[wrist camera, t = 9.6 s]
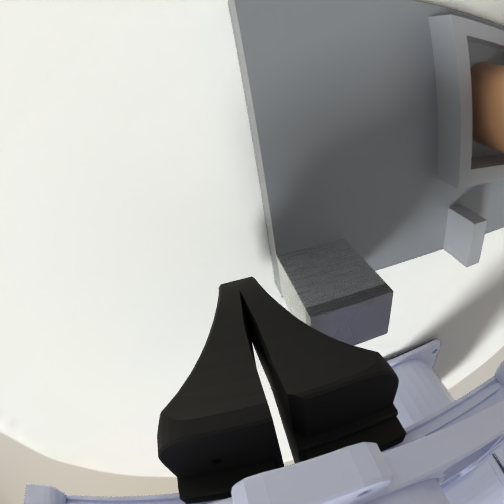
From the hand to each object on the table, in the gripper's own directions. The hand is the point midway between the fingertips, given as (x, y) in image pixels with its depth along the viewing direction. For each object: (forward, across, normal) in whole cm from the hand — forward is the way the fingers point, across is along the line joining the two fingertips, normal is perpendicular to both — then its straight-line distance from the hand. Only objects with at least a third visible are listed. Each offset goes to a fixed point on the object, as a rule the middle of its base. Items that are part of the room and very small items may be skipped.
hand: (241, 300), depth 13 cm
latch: (+1, -3, 0) cm, 3 cm away
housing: (+2, -14, -5) cm, 15 cm away
